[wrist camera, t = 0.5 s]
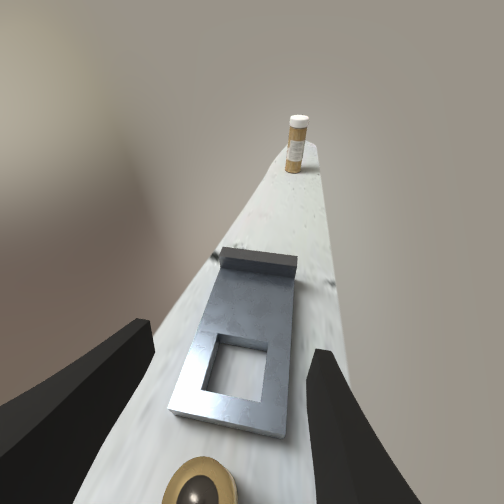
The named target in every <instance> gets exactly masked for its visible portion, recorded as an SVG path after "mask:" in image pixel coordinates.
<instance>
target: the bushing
mask: <svg viewBox="0 0 504 504" xmlns="http://www.w3.org/2000/svg"><path fill="white" fill-rule="evenodd" d="M162 504H238V494H237V488H236V484H235V481H234V479H233V477H232V475H231V474H230V472H229V471H228V470H227V469H226V468H225V467H223V466H222V465H221V464H220V463H219V462H218V461H216V460H214V459H213V458H210V457H205V456H204V457H196V458H193V459H191V460H189V461H187V462H186V463H184V464H183V465H182V466H181V467H180V468H179V469H178V470H177V471H176V472H175V474H174V475H173V477H172V478H171V480H170V482H169V484H168V486H167V488H166V491H165V493H164V496H163V500H162Z"/></svg>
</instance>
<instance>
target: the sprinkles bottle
mask: <svg viewBox="0 0 504 504" xmlns="http://www.w3.org/2000/svg"><path fill="white" fill-rule="evenodd" d="M308 123H309V117H307V116H304V115H293V116H291V118H290V132H289V141H288V147H287V156H286V158H287V159H286V167H285V170H286V171H287V172H290V173H298V172H300V171H301V162H302V158H303V152H304V145H305V137H306V131H307V126H308Z"/></svg>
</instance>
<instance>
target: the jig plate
mask: <svg viewBox="0 0 504 504" xmlns="http://www.w3.org/2000/svg"><path fill="white" fill-rule="evenodd" d="M297 257H298V256H292V255H284V254H276V253H268V252H260V251H252V250H244V249H237V248H229V247H222V250H221V252H220V255H219V260H220V267H221V268H220V271H219V273H218V276H217V279H216V281H215V284H214V287H213V289H212V292H211V295H210V297H209V300H208V303H207V305H206V308H205V310H204V313H203V316H202V318H201V321H200V324H199V326H198V329H197V332H196V334H195V337H194V340H193V342H192V345H191V348H190V350H189V353H188V355H187V358H186V361H185V363H184V366H183V369H182V371H181V374H180V377H179V379H178V382H177V385H176V387H175V390H174V393H173V395H172V398H171V401H170V403H169V406H168V409H169V410H170V411H171V412H172V413H173V414H174V415H178V416H183V417H187V418H191V419H196V420H200V421H204V422H209V423H213V424H218V425H222V426H226V427H231V428H235V429H239V430H244V431H248V432H253V433H257V434H261V435H266V436H270V437H275V438H279V439H283V438H284V437H285V435H286V418H287V401H288V383H289V366H290V349H291V331H292V314H293V296H294V279H295V274H296V269H297ZM219 343H225V344H230V345H236V346H241V347H247V348H252V349H258V350H263V351H267V358H266V366H265V373H264V381H263V389H262V396H261V403H260V402H255V401H250V400H246V399H241V398H236V397H231V396H227V395H222V394H217V393H212V392H208V391H206V388H207V385H208V381H209V378H210V374H211V371H212V367H213V364H214V361H215V357H216V354H217V350H218V347H219Z"/></svg>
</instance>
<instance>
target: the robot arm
mask: <svg viewBox="0 0 504 504" xmlns="http://www.w3.org/2000/svg"><path fill="white" fill-rule="evenodd" d="M154 354H155V348H154V342H153V337H152V331H151V326H150V321H149V320H144V319H138V318H136V319H135V320H133V321H132V322H130V323H129V324H128V325H126V326H125V327H123V328H122V329H121V330H119V331H118V332H117V333H115V334H114V335H112V336H111V337H109V338H108V339H107V340H105V341H104V342H102V343H101V344H100V345H98V346H97V347H95V348H94V349H92V350H91V351H89V352H88V353H87V354H85V355H84V356H82V357H81V358H79V359H78V360H76V361H74V362H73V363H72V364H70V365H68V366H67V367H65V368H64V369H62V370H61V371H59V372H58V373H56V374H54V375H53V376H51V377H50V378H48V379H46V380H45V381H43V382H42V383H40V384H38V385H36V386H35V387H33V388H31V389H30V390H28V391H26V392H24V393H23V394H21V395H19V396H18V397H16V398H14V399H12V400H10V401H9V402H7V403H5V404H3V405H1V406H0V504H73V501H74V499H75V497H76V495H77V493H78V491H79V489H80V487H81V485H82V483H83V481H84V479H85V477H86V475H87V473H88V471H89V469H90V467H91V466H92V464H93V462H94V460H95V458H96V456H97V454H98V452H99V450H100V448H101V446H102V444H103V443H104V441H105V439H106V437H107V436H108V434H109V432H110V431H111V429H112V427H113V426H114V424H115V423H116V421H117V419H118V418H119V416H120V414H121V413H122V411H123V410H124V408H125V406H126V405H127V403H128V402H129V400H130V398H131V397H132V395H133V393H134V392H135V390H136V389H137V387H138V385H139V384H140V382H141V380H142V379H143V377H144V375H145V373H146V371H147V369H148V367H149V365H150V363H151V360H152V358H153V356H154ZM306 397H307V414H308V423H309V432H310V441H311V449H312V458H313V466H314V475H315V486H316V500H317V504H421V502H420V501H419V500H418V498H417V497H416V495H415V494H414V493H413V491H412V490H411V488H410V487H409V485H408V484H407V482H406V481H405V479H404V478H403V476H402V475H401V473H400V472H399V470H398V469H397V467H396V466H395V464H394V463H393V461H392V460H391V458H390V457H389V455H388V453H387V452H386V450H385V449H384V447H383V445H382V444H381V442H380V441H379V439H378V438H377V436H376V434H375V432H374V431H373V429H372V427H371V426H370V424H369V422H368V420H367V419H366V417H365V415H364V414H363V412H362V410H361V408H360V406H359V404H358V403H357V401H356V399H355V397H354V395H353V393H352V392H351V390H350V388H349V386H348V384H347V382H346V380H345V378H344V376H343V374H342V372H341V370H340V368H339V366H338V364H337V361H336V359H335V357H334V355H333V353H332V352H331V351H328V350H322V349H315V352H314V356H313V359H312V362H311V366H310V369H309V372H308V376H307V379H306Z"/></svg>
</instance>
